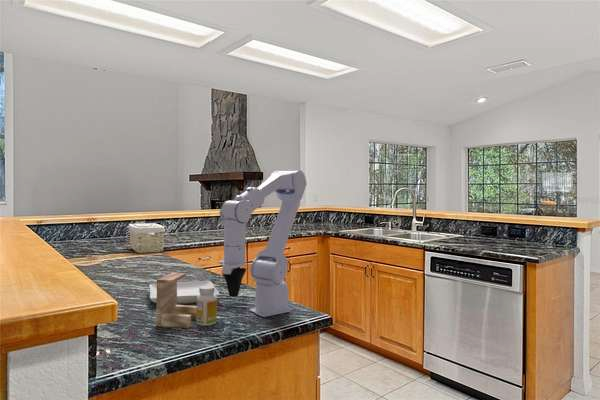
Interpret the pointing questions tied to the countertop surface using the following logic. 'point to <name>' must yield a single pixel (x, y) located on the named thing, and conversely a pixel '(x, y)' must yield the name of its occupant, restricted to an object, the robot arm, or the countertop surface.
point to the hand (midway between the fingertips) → (233, 295)
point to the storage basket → (146, 237)
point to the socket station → (172, 304)
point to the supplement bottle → (206, 306)
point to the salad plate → (184, 291)
